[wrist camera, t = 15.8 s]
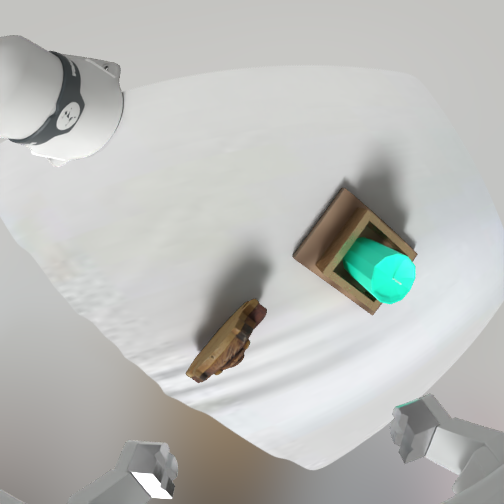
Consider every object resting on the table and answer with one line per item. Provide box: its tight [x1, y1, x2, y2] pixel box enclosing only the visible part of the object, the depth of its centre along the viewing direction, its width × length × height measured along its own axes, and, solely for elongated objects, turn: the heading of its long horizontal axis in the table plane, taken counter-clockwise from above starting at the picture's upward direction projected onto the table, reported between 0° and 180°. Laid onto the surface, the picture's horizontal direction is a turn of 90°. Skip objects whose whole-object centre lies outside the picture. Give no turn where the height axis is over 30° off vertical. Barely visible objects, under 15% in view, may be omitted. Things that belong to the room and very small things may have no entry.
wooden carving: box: [186, 299, 267, 383], centre depth 38 cm, size 16×5×10 cm, turn 146°
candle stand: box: [293, 188, 417, 316], centre depth 38 cm, size 16×12×6 cm
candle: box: [342, 237, 415, 304], centre depth 34 cm, size 6×6×12 cm
